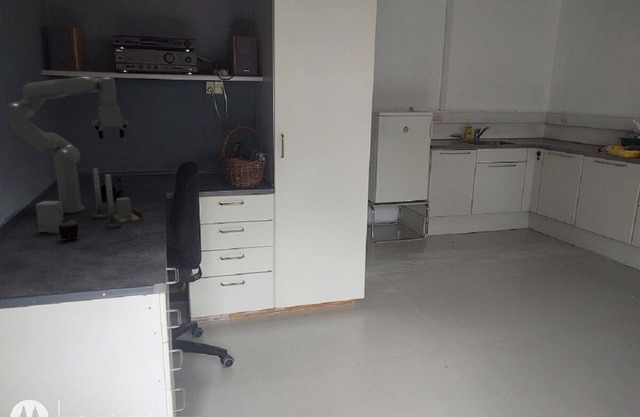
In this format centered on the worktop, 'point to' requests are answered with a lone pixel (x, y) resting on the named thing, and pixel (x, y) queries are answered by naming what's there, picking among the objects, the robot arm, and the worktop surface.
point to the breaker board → (135, 216)
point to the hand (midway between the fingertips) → (111, 138)
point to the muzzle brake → (115, 186)
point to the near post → (110, 204)
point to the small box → (49, 216)
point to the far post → (98, 197)
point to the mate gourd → (67, 227)
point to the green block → (124, 207)
